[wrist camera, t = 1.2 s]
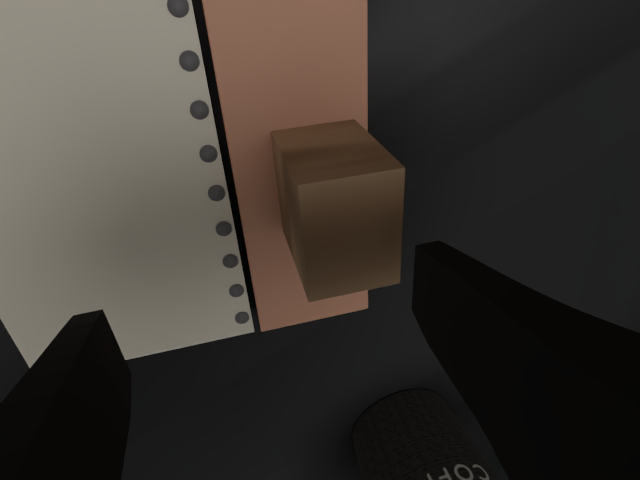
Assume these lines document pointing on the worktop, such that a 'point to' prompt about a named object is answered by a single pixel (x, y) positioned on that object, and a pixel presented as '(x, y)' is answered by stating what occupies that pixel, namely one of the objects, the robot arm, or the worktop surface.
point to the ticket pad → (112, 178)
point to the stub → (305, 155)
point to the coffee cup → (416, 441)
